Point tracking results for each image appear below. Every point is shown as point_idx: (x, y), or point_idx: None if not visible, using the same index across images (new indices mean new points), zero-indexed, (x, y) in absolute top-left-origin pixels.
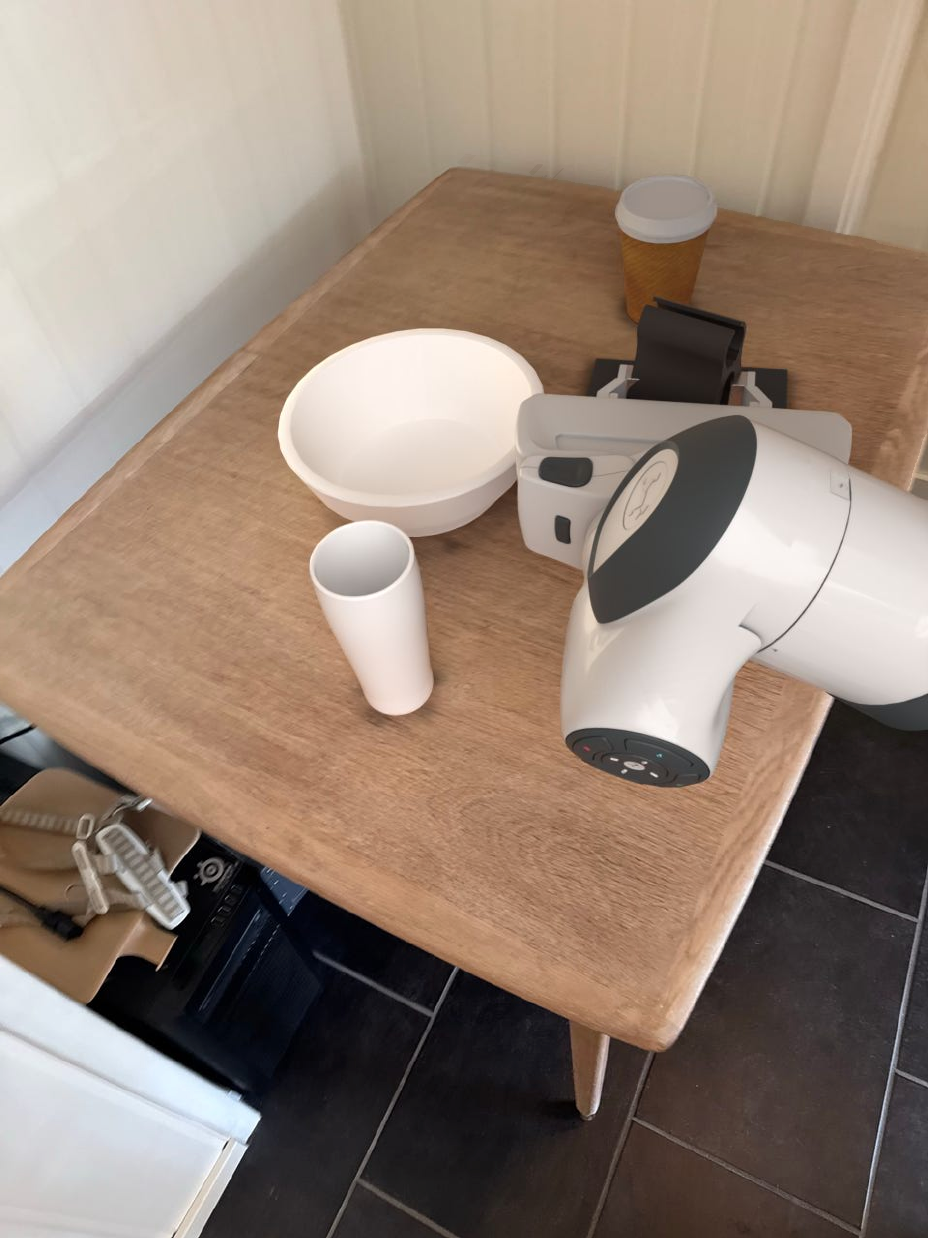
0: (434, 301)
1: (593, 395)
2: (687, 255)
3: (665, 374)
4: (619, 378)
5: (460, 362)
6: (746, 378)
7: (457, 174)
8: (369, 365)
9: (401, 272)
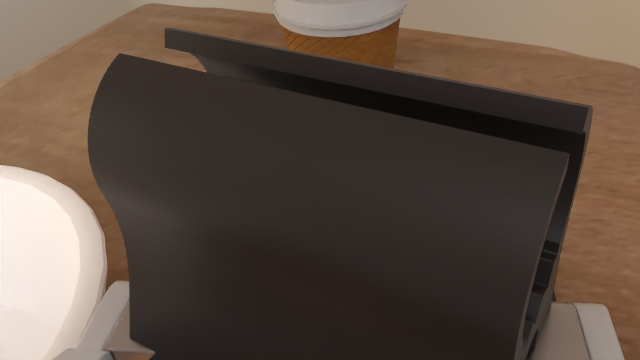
0: (68, 128)
1: None
2: (373, 55)
3: (242, 348)
4: (80, 350)
5: (8, 217)
6: (583, 342)
7: (142, 7)
8: None
9: (43, 97)
